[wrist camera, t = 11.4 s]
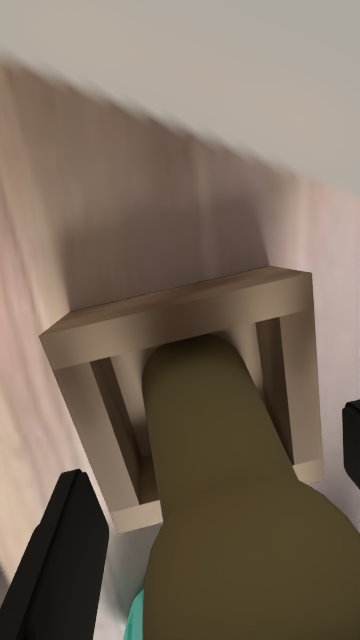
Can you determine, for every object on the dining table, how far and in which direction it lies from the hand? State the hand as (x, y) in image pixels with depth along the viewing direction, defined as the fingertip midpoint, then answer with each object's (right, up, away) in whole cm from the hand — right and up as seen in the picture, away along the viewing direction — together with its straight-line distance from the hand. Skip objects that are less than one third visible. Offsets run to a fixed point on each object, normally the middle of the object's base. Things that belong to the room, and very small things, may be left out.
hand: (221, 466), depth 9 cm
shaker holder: (-1, +2, +6) cm, 6 cm away
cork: (-1, +2, +6) cm, 6 cm away
